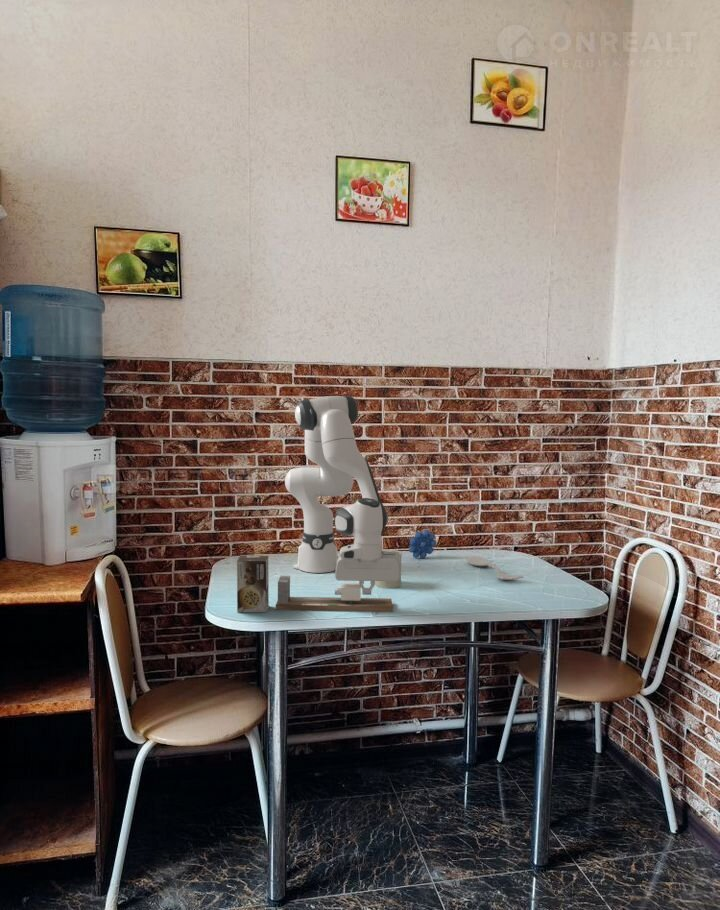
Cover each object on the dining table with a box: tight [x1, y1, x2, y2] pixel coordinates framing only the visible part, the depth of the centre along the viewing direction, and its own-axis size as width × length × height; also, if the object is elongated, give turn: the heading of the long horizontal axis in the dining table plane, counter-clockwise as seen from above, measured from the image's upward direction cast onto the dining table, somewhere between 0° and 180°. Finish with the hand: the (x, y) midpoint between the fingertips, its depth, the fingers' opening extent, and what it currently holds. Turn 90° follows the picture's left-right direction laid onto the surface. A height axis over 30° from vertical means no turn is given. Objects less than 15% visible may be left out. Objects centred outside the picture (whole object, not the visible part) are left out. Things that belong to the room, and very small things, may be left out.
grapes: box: [408, 529, 437, 559], centre depth 254 cm, size 12×7×12 cm, turn 97°
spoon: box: [465, 555, 524, 581], centre depth 235 cm, size 9×32×4 cm, turn 16°
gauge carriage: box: [334, 582, 362, 604], centre depth 191 cm, size 7×8×4 cm
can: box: [374, 548, 403, 589], centre depth 216 cm, size 9×9×12 cm
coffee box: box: [236, 555, 270, 613], centre depth 188 cm, size 9×6×16 cm
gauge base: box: [275, 575, 394, 613], centre depth 192 cm, size 8×36×8 cm, turn 90°
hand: (366, 594), depth 193 cm, fingers closed
